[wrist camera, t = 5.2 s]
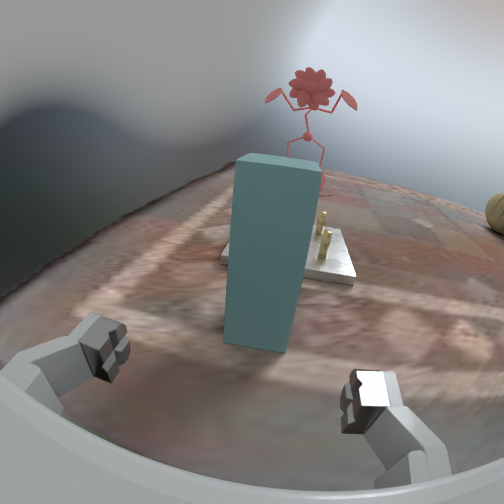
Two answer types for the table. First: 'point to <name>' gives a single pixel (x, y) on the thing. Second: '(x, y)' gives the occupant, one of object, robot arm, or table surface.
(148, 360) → the table surface
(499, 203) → the cantaloupe
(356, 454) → the table surface
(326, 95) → the figurine
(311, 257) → the post plate
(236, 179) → the teal block
